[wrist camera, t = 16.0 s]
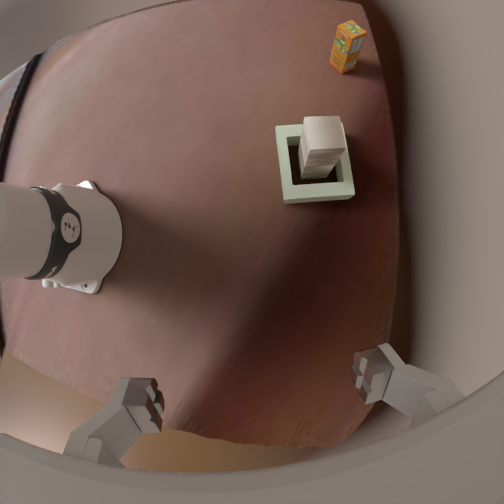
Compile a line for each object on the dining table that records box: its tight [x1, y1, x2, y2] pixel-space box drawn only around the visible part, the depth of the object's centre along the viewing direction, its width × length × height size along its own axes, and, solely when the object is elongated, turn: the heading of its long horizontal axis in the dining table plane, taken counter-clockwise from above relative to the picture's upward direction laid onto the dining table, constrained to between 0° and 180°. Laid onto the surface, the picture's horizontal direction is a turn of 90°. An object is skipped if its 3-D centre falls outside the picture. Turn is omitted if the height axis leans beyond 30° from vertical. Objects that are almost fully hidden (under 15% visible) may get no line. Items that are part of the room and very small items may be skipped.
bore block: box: [275, 123, 355, 204], centre depth 34 cm, size 9×10×4 cm
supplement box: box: [330, 20, 367, 74], centre depth 30 cm, size 3×3×10 cm
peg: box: [297, 116, 346, 179], centre depth 30 cm, size 4×4×12 cm
